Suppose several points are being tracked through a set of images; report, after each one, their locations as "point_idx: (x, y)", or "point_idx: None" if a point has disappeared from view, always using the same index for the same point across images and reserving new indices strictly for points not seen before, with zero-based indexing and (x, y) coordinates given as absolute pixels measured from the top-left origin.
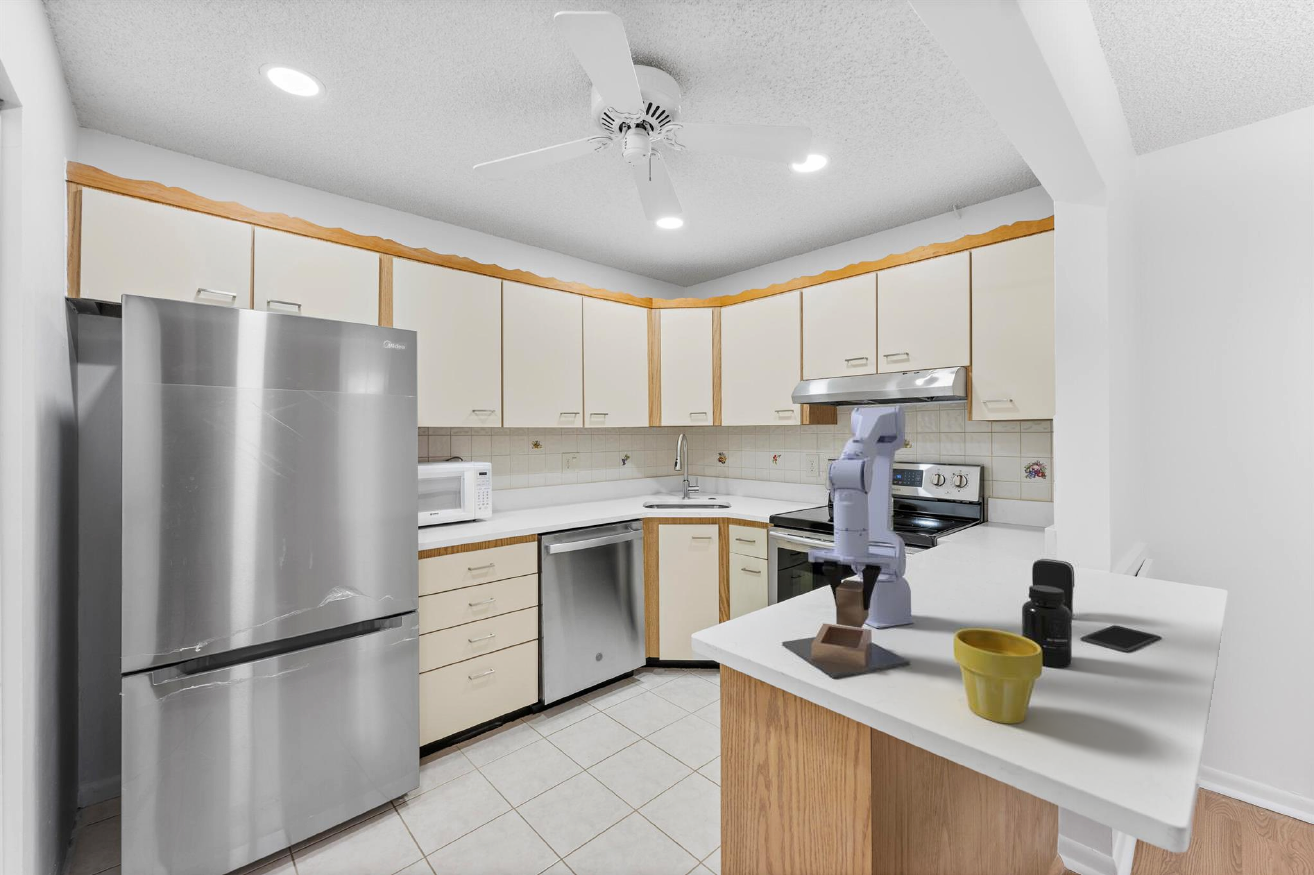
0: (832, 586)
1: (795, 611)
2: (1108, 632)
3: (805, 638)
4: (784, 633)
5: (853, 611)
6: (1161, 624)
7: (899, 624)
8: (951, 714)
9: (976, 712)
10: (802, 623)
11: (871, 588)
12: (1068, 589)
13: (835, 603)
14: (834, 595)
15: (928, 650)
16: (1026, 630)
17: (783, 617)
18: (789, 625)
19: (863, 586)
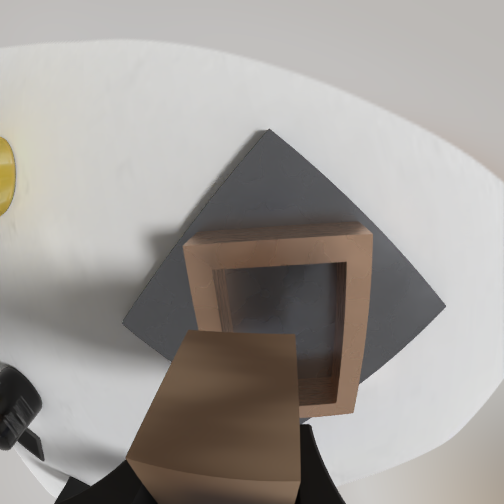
0: (330, 500)
1: (403, 461)
2: (35, 448)
3: (391, 357)
4: (435, 371)
5: (203, 376)
6: (32, 461)
7: None
8: (31, 116)
9: (6, 142)
10: (394, 430)
11: (99, 481)
12: (59, 498)
13: (311, 432)
14: (317, 461)
15: (127, 396)
16: (8, 408)
17: (428, 433)
18: (421, 411)
19: (134, 498)
